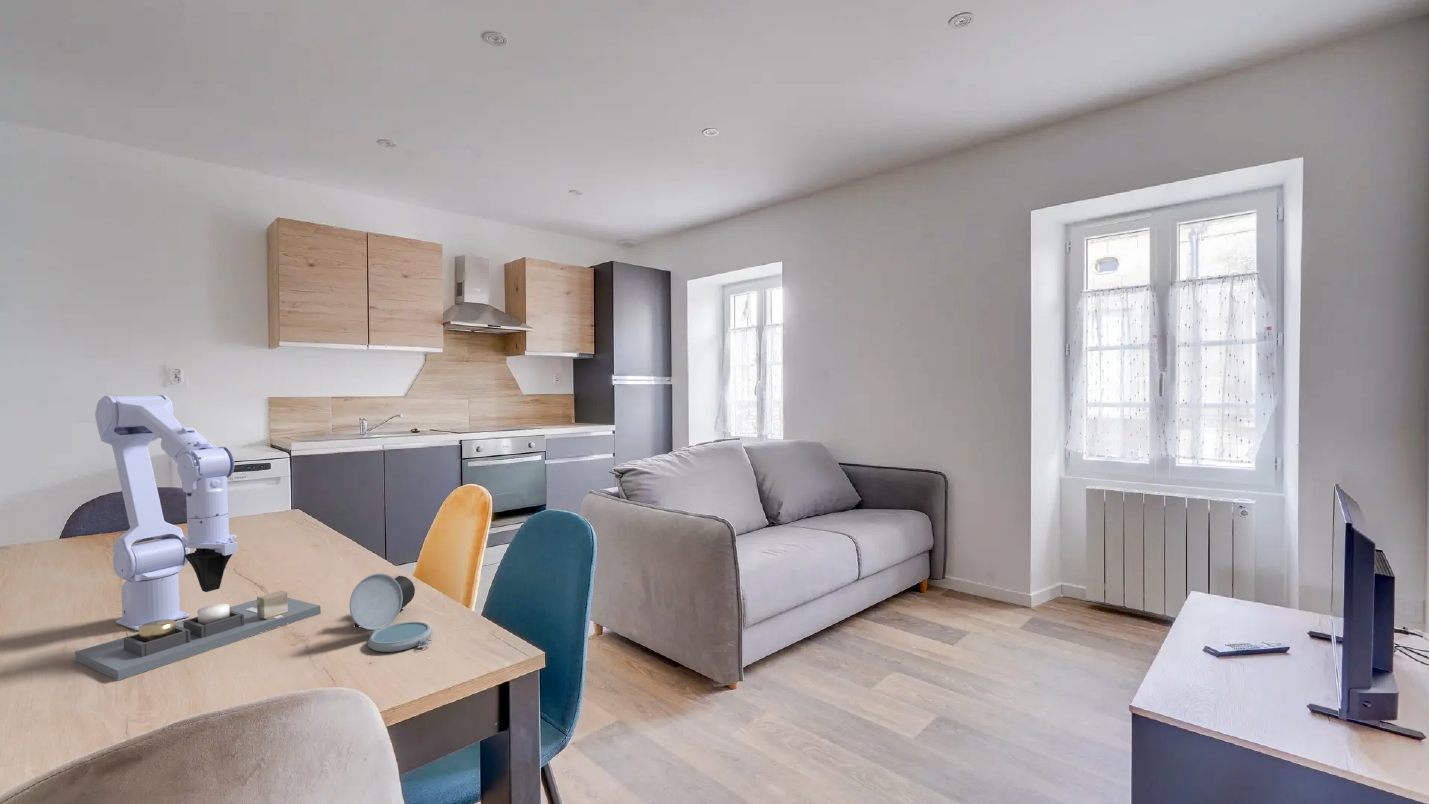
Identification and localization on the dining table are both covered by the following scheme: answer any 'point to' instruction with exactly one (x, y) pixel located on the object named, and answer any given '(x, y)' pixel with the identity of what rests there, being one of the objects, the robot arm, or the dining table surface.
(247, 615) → the panel
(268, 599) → the frosted cream block
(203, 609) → the white button
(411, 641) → the pocket watch
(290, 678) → the dining table surface
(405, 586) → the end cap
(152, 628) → the brass button
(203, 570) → the robot arm
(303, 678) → the dining table surface
